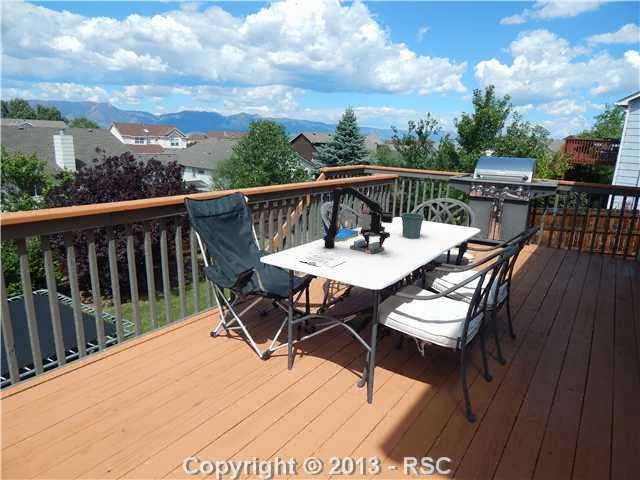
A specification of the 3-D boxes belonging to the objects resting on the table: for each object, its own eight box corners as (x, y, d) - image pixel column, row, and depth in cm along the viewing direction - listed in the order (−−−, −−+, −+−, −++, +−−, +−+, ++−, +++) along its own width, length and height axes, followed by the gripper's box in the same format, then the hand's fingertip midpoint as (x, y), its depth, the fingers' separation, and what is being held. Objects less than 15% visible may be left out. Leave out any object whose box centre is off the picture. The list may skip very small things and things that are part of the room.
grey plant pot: (384, 237, 295) (385, 208, 290) (359, 237, 295) (360, 208, 290) (381, 231, 312) (382, 204, 307) (357, 231, 313) (358, 204, 308)
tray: (311, 253, 256) (311, 247, 255) (348, 263, 240) (349, 257, 239) (290, 261, 240) (290, 255, 239) (328, 272, 224) (329, 265, 223)
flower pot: (421, 234, 305) (422, 213, 301) (424, 239, 289) (425, 217, 285) (398, 233, 306) (400, 212, 302) (400, 239, 290) (402, 216, 286)
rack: (372, 256, 248) (373, 251, 247) (348, 250, 260) (348, 245, 259) (384, 251, 258) (384, 247, 257) (360, 246, 270) (360, 242, 269)
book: (358, 230, 299) (344, 237, 278) (358, 236, 300) (344, 243, 279) (337, 228, 307) (322, 234, 285) (337, 233, 308) (322, 240, 286)
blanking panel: (372, 252, 251) (372, 245, 250) (368, 252, 253) (368, 244, 252) (380, 250, 258) (380, 242, 257) (376, 249, 260) (376, 241, 259)
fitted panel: (357, 249, 258) (357, 242, 257) (353, 248, 260) (353, 241, 259) (365, 246, 265) (365, 239, 264) (361, 246, 267) (362, 238, 266)
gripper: (395, 222, 251) (394, 246, 255) (370, 218, 263) (369, 241, 267) (385, 225, 243) (384, 250, 247) (360, 220, 255) (359, 244, 258)
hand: (374, 246), depth 255 cm, fingers open, 9 cm apart
